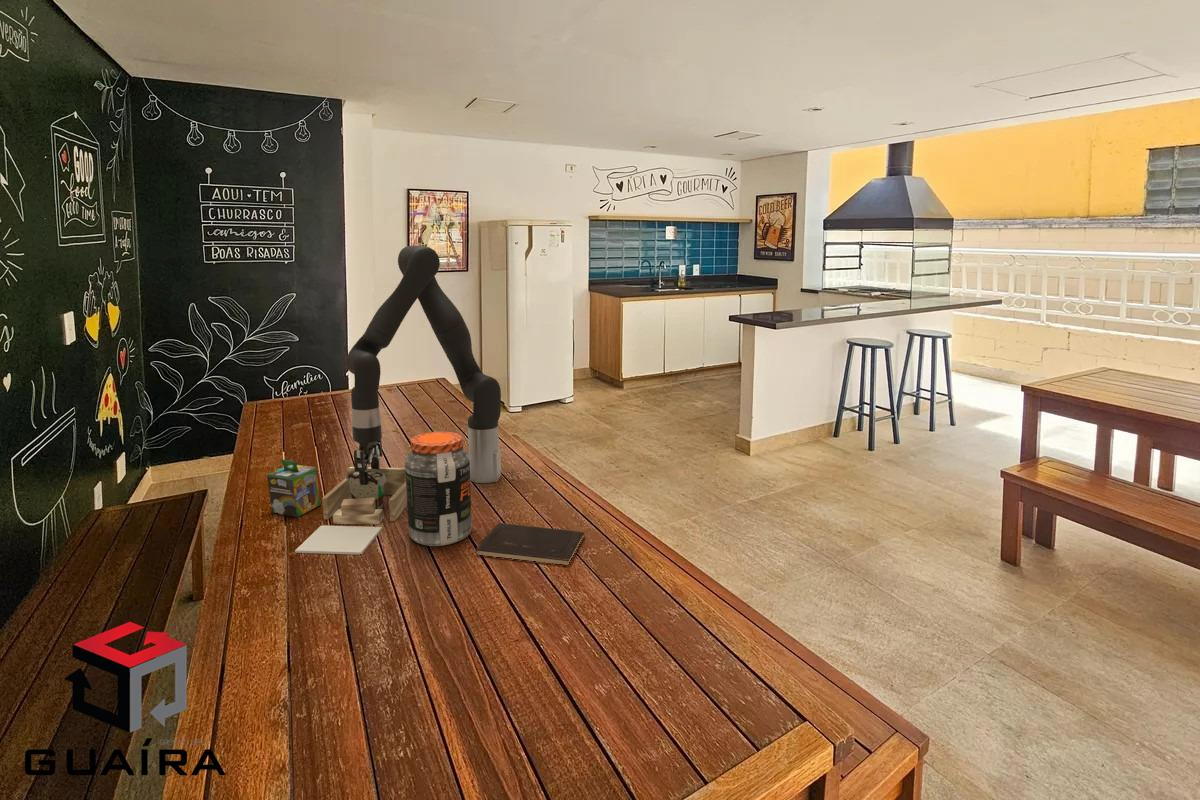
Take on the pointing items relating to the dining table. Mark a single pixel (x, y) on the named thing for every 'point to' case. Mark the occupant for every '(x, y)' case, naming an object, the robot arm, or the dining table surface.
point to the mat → (339, 540)
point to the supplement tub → (438, 489)
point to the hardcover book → (531, 543)
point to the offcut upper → (358, 506)
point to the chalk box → (293, 489)
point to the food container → (367, 486)
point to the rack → (391, 487)
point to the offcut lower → (358, 518)
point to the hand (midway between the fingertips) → (370, 479)
